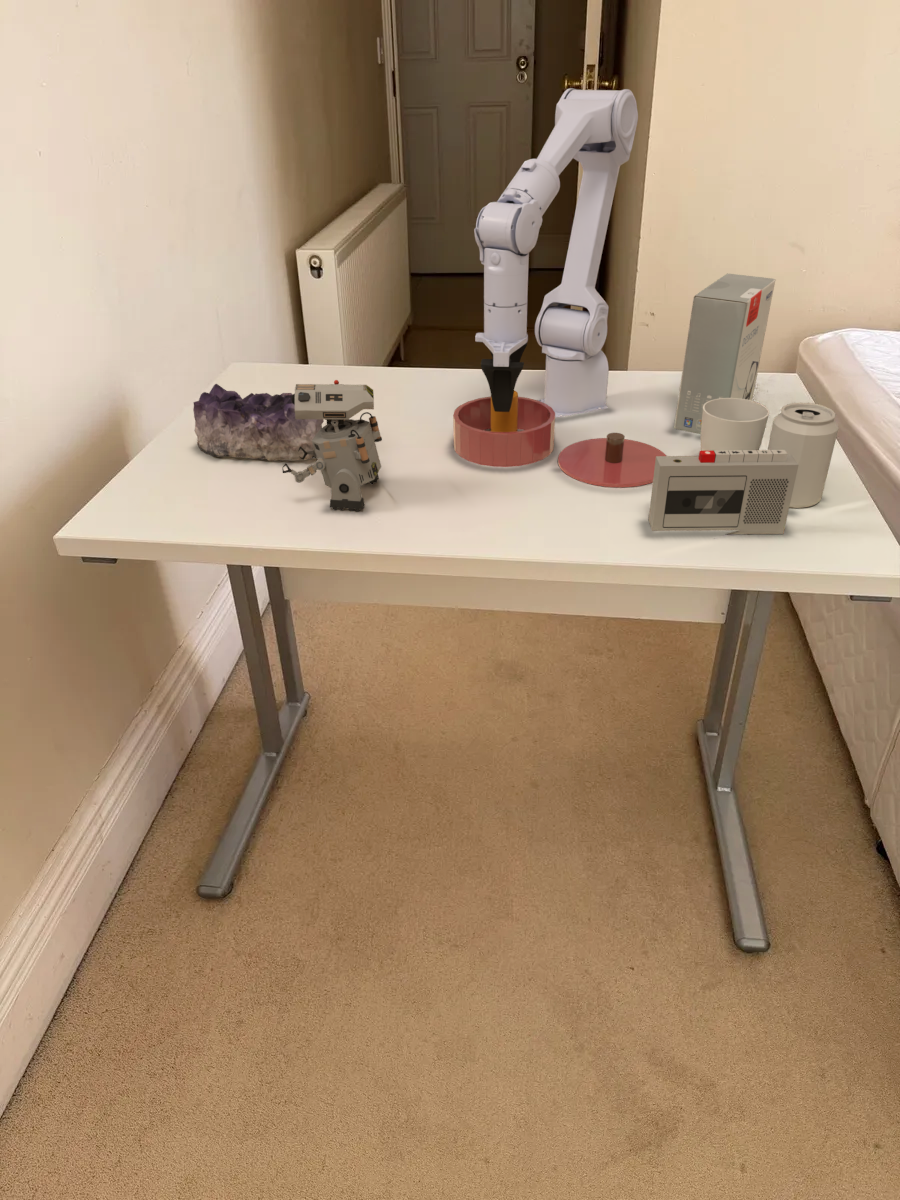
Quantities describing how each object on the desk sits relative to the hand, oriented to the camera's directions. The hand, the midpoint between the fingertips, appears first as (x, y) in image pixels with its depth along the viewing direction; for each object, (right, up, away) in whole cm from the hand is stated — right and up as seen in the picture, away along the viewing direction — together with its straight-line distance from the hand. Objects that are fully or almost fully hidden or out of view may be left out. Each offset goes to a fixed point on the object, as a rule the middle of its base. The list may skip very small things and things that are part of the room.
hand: (504, 400), depth 121 cm
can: (+36, -15, -11) cm, 40 cm away
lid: (+15, -9, -2) cm, 18 cm away
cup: (+29, -12, -6) cm, 32 cm away
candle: (0, -6, +4) cm, 7 cm away
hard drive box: (+33, 0, +12) cm, 35 cm away
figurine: (-22, -14, -7) cm, 27 cm away
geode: (-35, -6, +6) cm, 36 cm away
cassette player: (+24, -20, -17) cm, 36 cm away
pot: (0, -6, +4) cm, 7 cm away
